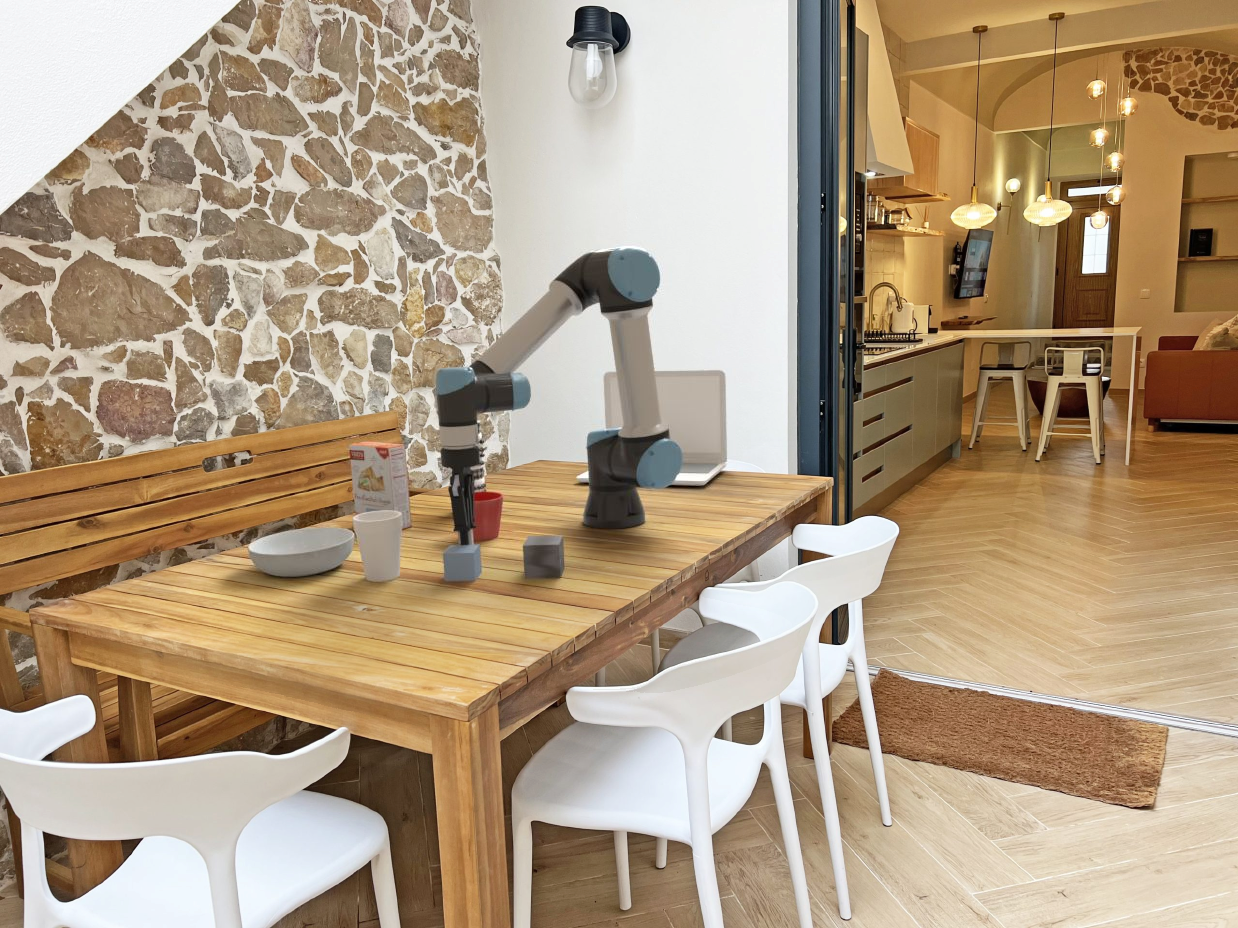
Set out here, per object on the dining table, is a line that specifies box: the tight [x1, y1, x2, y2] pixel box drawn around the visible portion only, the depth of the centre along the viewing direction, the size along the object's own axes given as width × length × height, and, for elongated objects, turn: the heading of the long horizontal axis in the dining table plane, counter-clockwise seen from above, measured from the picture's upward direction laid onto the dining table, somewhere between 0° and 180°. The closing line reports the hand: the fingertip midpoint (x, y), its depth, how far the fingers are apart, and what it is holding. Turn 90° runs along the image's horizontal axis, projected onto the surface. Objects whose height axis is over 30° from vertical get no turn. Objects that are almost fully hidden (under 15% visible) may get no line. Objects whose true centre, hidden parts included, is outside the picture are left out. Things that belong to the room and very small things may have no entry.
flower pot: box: [471, 491, 504, 542], centre depth 212 cm, size 11×11×10 cm
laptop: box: [576, 369, 728, 487], centre depth 279 cm, size 40×31×31 cm
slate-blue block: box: [442, 544, 483, 582], centre depth 180 cm, size 6×6×6 cm
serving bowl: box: [247, 526, 356, 578], centre depth 190 cm, size 21×21×7 cm
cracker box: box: [348, 440, 413, 531], centre depth 225 cm, size 14×6×21 cm, turn 57°
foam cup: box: [352, 510, 403, 583], centre depth 181 cm, size 10×9×13 cm
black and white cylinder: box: [470, 418, 487, 492], centre depth 238 cm, size 9×9×25 cm
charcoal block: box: [522, 535, 566, 580], centre depth 181 cm, size 7×7×7 cm
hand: (467, 561), depth 185 cm, fingers closed
